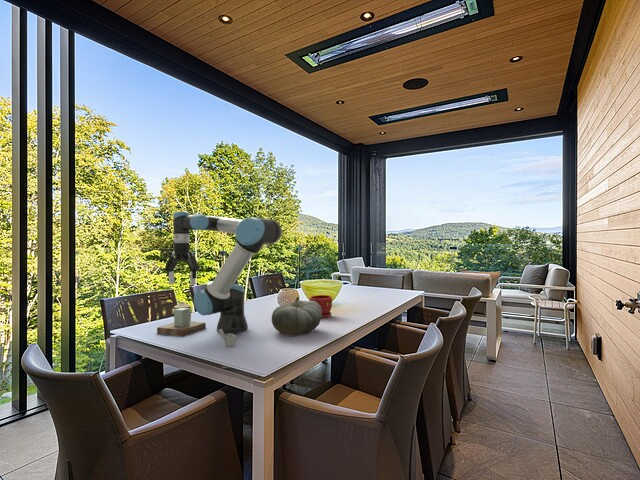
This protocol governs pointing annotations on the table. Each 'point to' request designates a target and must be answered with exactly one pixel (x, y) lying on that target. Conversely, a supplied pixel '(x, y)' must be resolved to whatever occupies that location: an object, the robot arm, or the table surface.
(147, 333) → the table surface
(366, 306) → the table surface
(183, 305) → the teacup with lid
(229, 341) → the lighter
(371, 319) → the table surface
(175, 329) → the walnut base
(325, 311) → the plant pot
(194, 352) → the table surface
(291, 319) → the gourd
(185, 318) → the sage pillar block
